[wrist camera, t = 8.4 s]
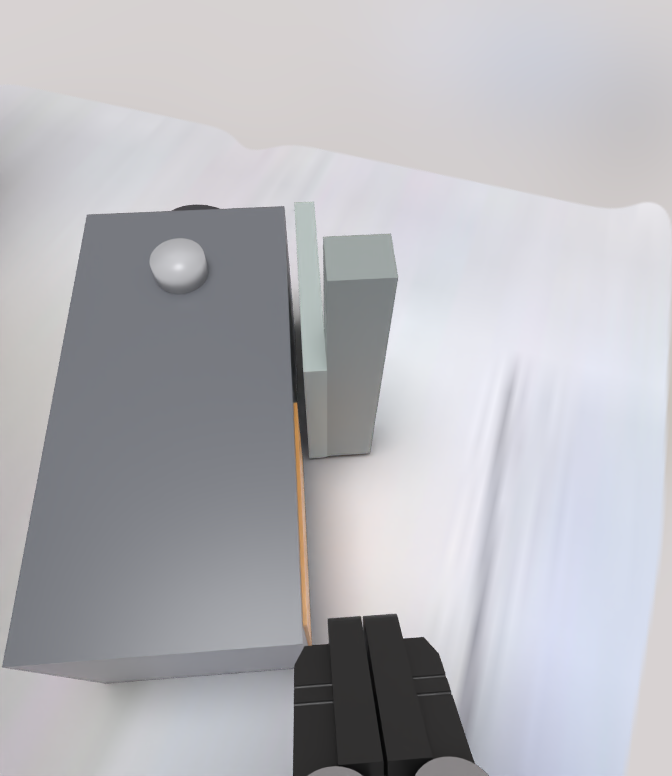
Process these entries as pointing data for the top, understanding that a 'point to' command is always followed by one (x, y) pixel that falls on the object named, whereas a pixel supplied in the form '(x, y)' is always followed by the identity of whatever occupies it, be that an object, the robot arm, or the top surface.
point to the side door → (343, 333)
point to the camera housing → (170, 459)
